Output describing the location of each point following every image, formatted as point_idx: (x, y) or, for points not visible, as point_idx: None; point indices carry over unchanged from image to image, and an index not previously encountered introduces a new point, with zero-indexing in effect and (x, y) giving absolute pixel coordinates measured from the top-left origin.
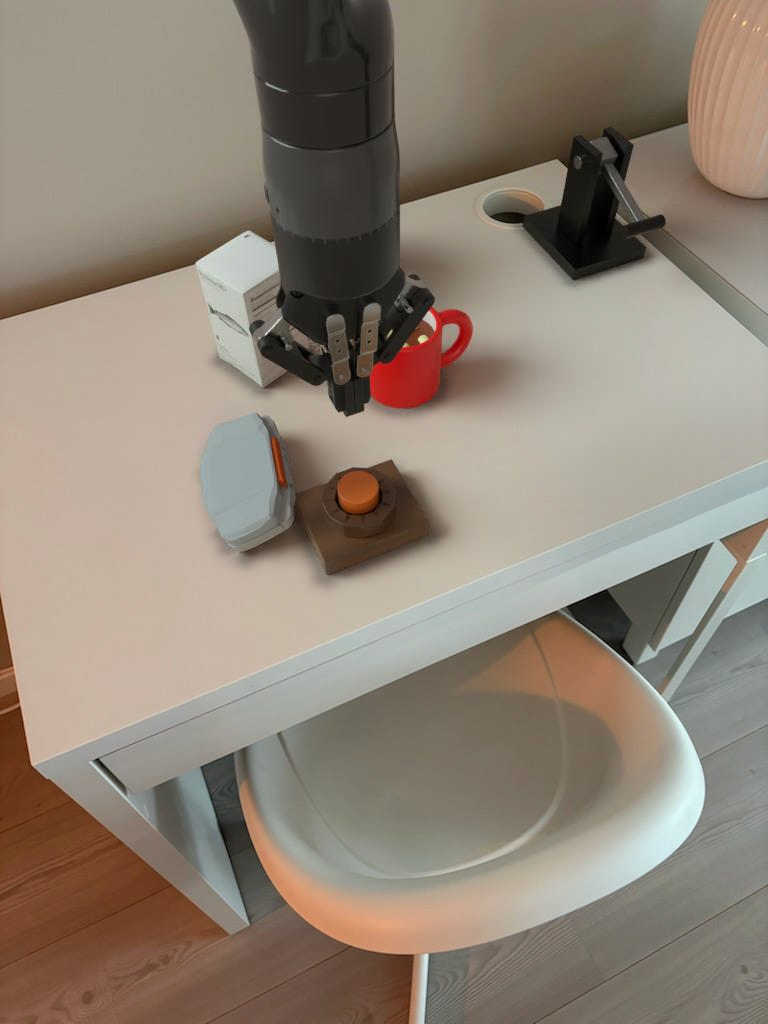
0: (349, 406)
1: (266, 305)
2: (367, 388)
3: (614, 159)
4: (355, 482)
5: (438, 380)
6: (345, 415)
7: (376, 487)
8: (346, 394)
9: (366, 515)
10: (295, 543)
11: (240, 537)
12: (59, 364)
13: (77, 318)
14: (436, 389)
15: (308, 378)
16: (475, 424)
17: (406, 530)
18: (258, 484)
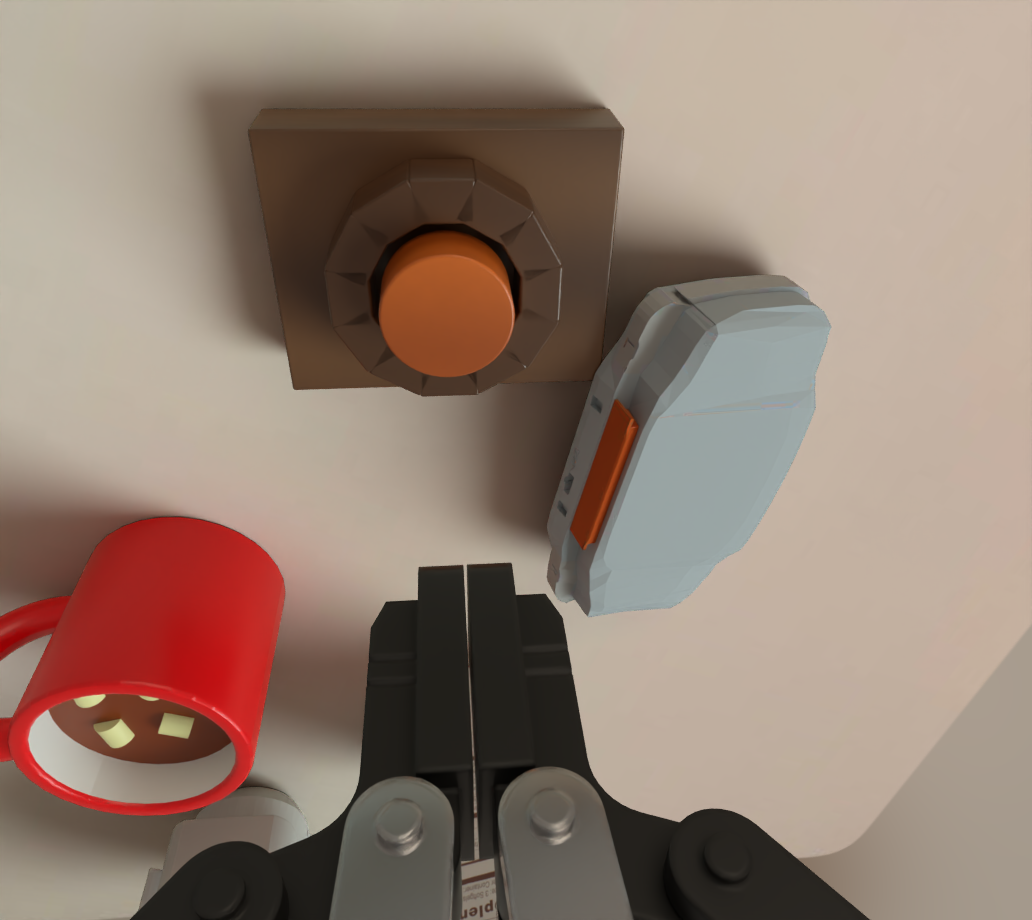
0: (499, 613)
1: (480, 868)
2: (382, 682)
3: None
4: (448, 337)
5: (87, 567)
6: (511, 570)
7: (391, 294)
8: (518, 688)
9: (452, 218)
10: (637, 249)
11: (796, 305)
12: (828, 775)
13: None
14: (102, 545)
15: (796, 889)
16: (10, 418)
17: (334, 129)
18: (687, 434)
